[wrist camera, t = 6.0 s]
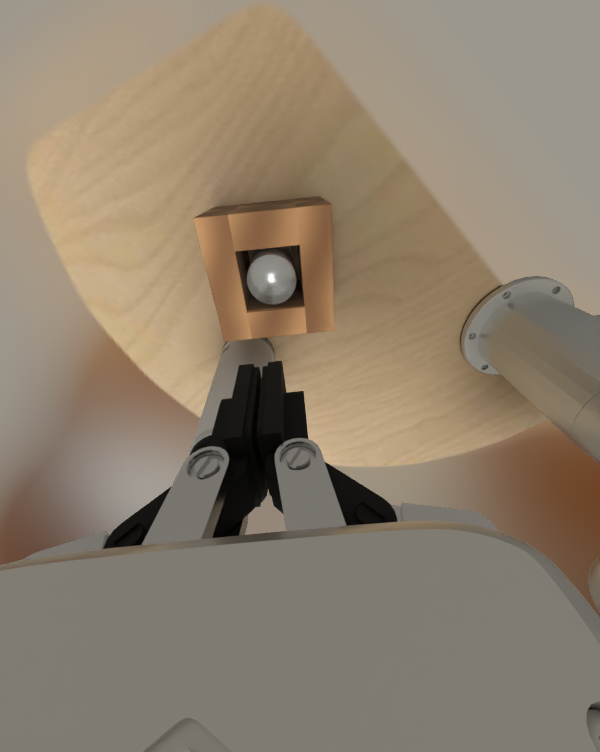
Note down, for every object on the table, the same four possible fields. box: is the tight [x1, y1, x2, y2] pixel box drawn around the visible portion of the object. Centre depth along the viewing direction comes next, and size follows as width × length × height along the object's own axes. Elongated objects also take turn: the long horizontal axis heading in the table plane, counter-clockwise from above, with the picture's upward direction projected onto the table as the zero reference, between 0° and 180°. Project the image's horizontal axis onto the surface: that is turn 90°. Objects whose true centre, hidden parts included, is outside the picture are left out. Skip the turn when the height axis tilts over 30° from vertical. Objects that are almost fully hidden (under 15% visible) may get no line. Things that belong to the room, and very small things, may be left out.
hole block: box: [193, 197, 334, 342], centre depth 28 cm, size 10×10×8 cm
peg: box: [247, 246, 296, 304], centre depth 28 cm, size 4×4×8 cm
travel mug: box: [189, 338, 274, 502], centre depth 29 cm, size 6×7×20 cm
